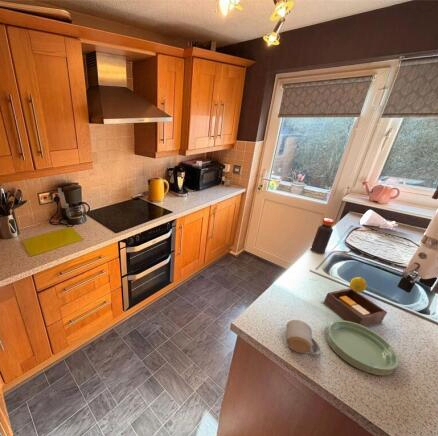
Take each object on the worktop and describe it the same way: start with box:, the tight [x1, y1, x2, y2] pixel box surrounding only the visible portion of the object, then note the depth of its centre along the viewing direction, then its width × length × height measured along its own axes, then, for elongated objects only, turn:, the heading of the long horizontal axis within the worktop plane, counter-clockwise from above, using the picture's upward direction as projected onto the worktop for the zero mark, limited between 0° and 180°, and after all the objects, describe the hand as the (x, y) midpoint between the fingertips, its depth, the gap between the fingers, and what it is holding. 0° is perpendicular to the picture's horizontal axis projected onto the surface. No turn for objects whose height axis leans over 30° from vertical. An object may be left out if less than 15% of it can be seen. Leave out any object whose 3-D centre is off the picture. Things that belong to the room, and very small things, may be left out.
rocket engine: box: [359, 209, 399, 232], centre depth 163 cm, size 12×12×18 cm
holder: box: [323, 287, 388, 328], centre depth 93 cm, size 13×14×6 cm
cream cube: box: [351, 305, 370, 317], centre depth 91 cm, size 4×5×4 cm
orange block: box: [338, 296, 357, 308], centre depth 95 cm, size 4×5×4 cm
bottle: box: [310, 218, 335, 255], centre depth 132 cm, size 7×7×20 cm
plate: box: [325, 319, 400, 376], centre depth 79 cm, size 18×18×4 cm
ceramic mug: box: [285, 319, 321, 356], centre depth 79 cm, size 11×8×8 cm
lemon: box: [349, 276, 368, 293], centre depth 103 cm, size 6×6×8 cm
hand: (414, 287), depth 77 cm, fingers open, 9 cm apart
